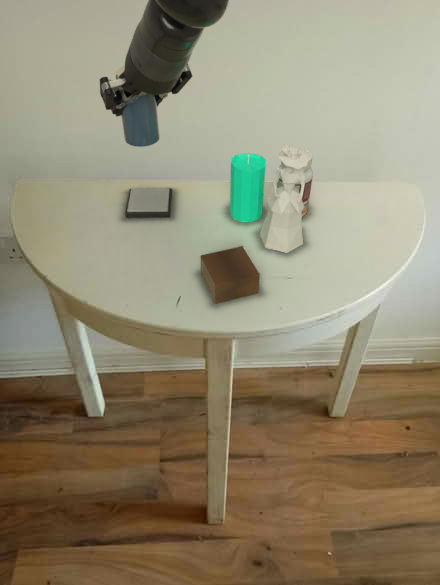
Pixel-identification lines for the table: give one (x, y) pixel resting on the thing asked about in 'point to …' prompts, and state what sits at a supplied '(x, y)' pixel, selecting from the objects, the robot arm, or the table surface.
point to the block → (229, 274)
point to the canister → (140, 120)
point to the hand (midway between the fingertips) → (134, 106)
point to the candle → (247, 187)
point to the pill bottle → (307, 180)
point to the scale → (149, 203)
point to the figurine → (285, 204)
